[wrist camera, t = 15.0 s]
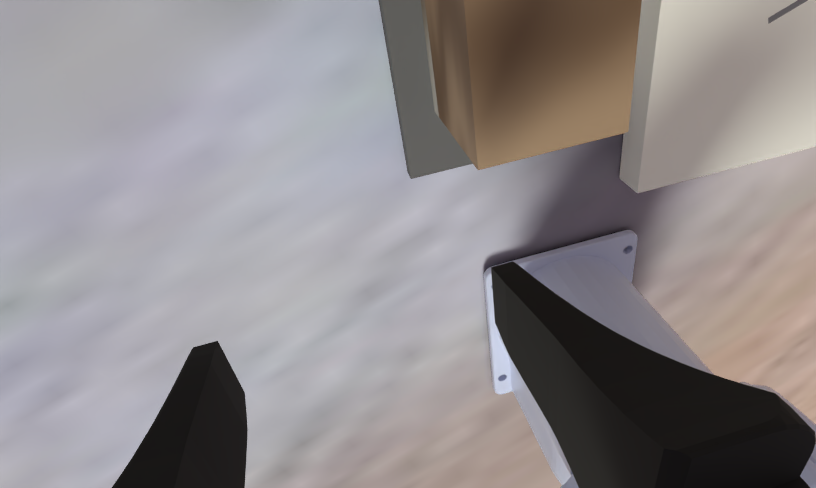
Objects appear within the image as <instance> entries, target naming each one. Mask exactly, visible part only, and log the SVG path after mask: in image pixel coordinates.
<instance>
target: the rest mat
mask: <svg viewBox="0 0 816 488" xmlns="http://www.w3.org/2000/svg"><path fill="white" fill-rule="evenodd" d="M379 5H380V11H381V17H382V23H383V29H384V35H385V41H386V47H387V52H388V58H389V64H390V70H391V76H392V82H393V88H394V94H395V100H396V106H397V112H398V117H399V123H400V129H401V135H402V141H403V147H404V153H405V159H406V165H407V171H408V174H409V176H410V178H411V179H413V178H417V177H421V176H425V175H429V174H433V173H437V172H441V171H445V170H449V169H453V168H457V167H461V166H465V165H469V164H473V163H472V161H471V160H470V159H469V157H468V156H467V155H466V153H465V152H464V150H463V149H462V148H461V146H460V145H459V144H458V142H457V141H456V140H455V138H454V137H453V136H452V134H451V133H450V131H449V130H448V129H447V127H446V126H445V125H444V123H443V122H442V121H441V119H440V118H439V117H438V115H437V114H436V113H435V109H434V102H433V94H432V86H431V78H430V70H429V62H428V55H427V47H426V39H425V31H424V23H423V15H422V8H421V0H379Z"/></svg>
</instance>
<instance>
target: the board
mask: <svg viewBox="0 0 816 488" xmlns="http://www.w3.org/2000/svg"><path fill="white" fill-rule="evenodd" d="M812 147H816V0H642V3H641V13H640V22H639V32H638V42H637V52H636V62H635V71H634V81H633V91H632V101H631V110H630V120H629V130H628V132H627V133H624V134H623V145H622V155H621V165H620V175H619V178H620V179H621V180H622V181H623V182H624V183H626V184H627V185H628V186H629V187H630V188H631V189H633V190H634V191H635V192H636V193H637V194H638V193H641V192H645V191H649V190H653V189H657V188H660V187H664V186H668V185H672V184H676V183H679V182H683V181H687V180H691V179H695V178H698V177H702V176H706V175H710V174H714V173H717V172H721V171H725V170H729V169H733V168H736V167H740V166H744V165H748V164H752V163H755V162H759V161H763V160H767V159H771V158H774V157H778V156H782V155H786V154H790V153H793V152H797V151H801V150H805V149H809V148H812Z"/></svg>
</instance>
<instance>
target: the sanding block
mask: <svg viewBox="0 0 816 488" xmlns="http://www.w3.org/2000/svg"><path fill="white" fill-rule="evenodd" d="M641 3H642V0H421V8H422V15H423V23H424V31H425V39H426V47H427V55H428V62H429V70H430V78H431V86H432V94H433V102H434V109H435V113H436V114H437V115H438V117H439V118H440V119H441V121H442V122H443V123H444V125H445V126H446V127H447V129H448V130H449V131H450V133H451V134H452V136H453V137H454V138H455V140H456V141H457V142H458V144H459V145H460V146H461V148H462V149H463V150H464V152H465V153H466V155H467V156H468V157H469V159H470V160H471V161H472V163H473V164H474V165H475V167H476V168H477V169H478V170H480V169H484V168H488V167H492V166H496V165H500V164H504V163H508V162H512V161H516V160H520V159H524V158H528V157H532V156H536V155H540V154H544V153H548V152H552V151H556V150H560V149H564V148H568V147H572V146H575V145H579V144H583V143H587V142H591V141H595V140H599V139H603V138H607V137H611V136H615V135H619V134H623V133H627V132H628V130H629V120H630V110H631V101H632V91H633V81H634V71H635V62H636V52H637V42H638V32H639V22H640V13H641Z"/></svg>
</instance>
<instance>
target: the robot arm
mask: <svg viewBox="0 0 816 488" xmlns="http://www.w3.org/2000/svg"><path fill="white" fill-rule="evenodd" d="M637 240H638V237H637V235H636V234H635V233H634V232H633V231H632V230H625V231H621V232H617V233H613V234H610V235H606V236H602V237H599V238H595V239H591V240H587V241H584V242H580V243H576V244H573V245H569V246H565V247H562V248H558V249H554V250H550V251H547V252H543V253H539V254H536V255H532V256H528V257H524V258H521V259H517V260H513V261H510V262H506V263H502V264H499V265H495V266H492V267H489V268H488V269H487V270H486V271H485V273H484V287H485V299H486V311H487V323H488V335H489V346H490V358H491V370H492V382H493V388H494V390H495V393H497V394H505V393H508V392H511V391H513V392H514V394H515V396H516V398H517V401H518V403H519V405H520V407H521V409H522V411H523V413H524V415H525V417H526V419H527V421H528V423H529V425H530V427H531V429H532V431H533V433H534V435H535V437H536V439H537V441H538V443H539V445H540V447H541V449H542V451H543V453H544V455H545V457H546V459H547V461H548V463H549V465H550V468H551V470H552V471H553V473H554V475H555V476H556V478H557V479H558V481H559V482H560V483H561V484H562V486H561V488H816V424H814V423H813V422H812V421H811V420H810V419H809V418H808V417H807V416H805V415H804V414H803V413H802V412H801V411H800V410H798V409H797V408H796V407H795V406H794V405H793V404H791V403H790V402H789V401H788V400H786V399H785V398H784V397H783V396H781V395H780V394H779V393H777V392H776V391H775V390H773V389H772V388H770V387H768V386H761V385H750V384H749V383H746V382H740V383H738V382H734V381H731V380H728V379H725V378H722V377H719V376H716V375H714V374H713V373H712V372H711V371H710V370H709V369H708V367H707V366H706V365H705V364H704V363H703V362H702V361H701V360H700V359H699V358H698V356H697V355H696V354H695V353H694V352H693V351H692V350H691V349H690V348H689V346H688V345H687V344H686V343H685V342H684V341H683V340H682V339H681V338H680V337H679V335H678V334H677V333H676V332H675V331H674V330H673V329H672V328H671V327H670V326H669V324H668V323H667V322H666V321H665V320H664V319H663V318H662V317H661V316H660V314H659V313H658V312H657V311H656V310H655V309H654V308H653V307H652V306H651V305H650V303H649V302H648V301H647V300H646V299H645V298H644V297H643V296H642V295H641V294H640V292H639V291H638V290H637V289H636V288H635V287H634V286H633V285H632V278H633V270H634V263H635V255H636V248H637ZM627 246H628V247H627ZM625 247H627V248H625ZM624 248H625V249H624ZM246 451H247V416H246V404H245V393H244V391H243V389H242V387H241V385H240V383H239V381H238V379H237V377H236V375H235V373H234V371H233V369H232V368H231V366H230V364H229V362H228V360H227V358H226V356H225V354H224V352H223V350H222V348H221V346H220V345H219V343H218V341H216V342H212V343H208V344H204V345H201V346H197V347H193V349H192V350H191V352H190V354H189V356H188V358H187V360H186V362H185V364H184V366H183V368H182V370H181V372H180V374H179V376H178V378H177V380H176V382H175V384H174V385H173V387H172V389H171V391H170V393H169V395H168V397H167V399H166V401H165V402H164V404H163V406H162V408H161V410H160V412H159V413H158V415H157V417H156V419H155V421H154V422H153V424H152V426H151V428H150V429H149V431H148V433H147V434H146V436H145V438H144V439H143V441H142V443H141V444H140V446H139V447H138V449H137V451H136V452H135V454H134V456H133V457H132V459H131V460H130V462H129V463H128V465H127V466H126V468H125V469H124V471H123V472H122V474H121V475H120V477H119V478H118V480H117V481H116V483H115V484H114V485H113V487H112V488H244V487H245V469H246Z"/></svg>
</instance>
